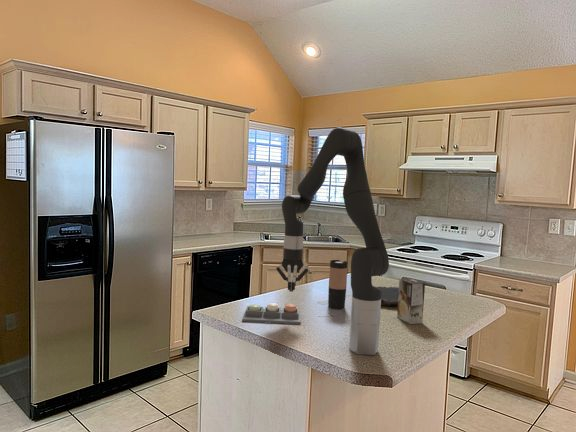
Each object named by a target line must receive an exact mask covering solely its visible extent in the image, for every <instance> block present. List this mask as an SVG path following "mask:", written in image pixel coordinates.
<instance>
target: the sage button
mask: <svg viewBox="0 0 576 432" xmlns="http://www.w3.org/2000/svg"><path fill="white" fill-rule="evenodd" d="M260 307H261V305H260V304H249V311H260Z"/></svg>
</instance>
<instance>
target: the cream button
mask: <svg viewBox="0 0 576 432" xmlns="http://www.w3.org/2000/svg"><path fill="white" fill-rule="evenodd" d="M266 307H267V311H268V312H278V308H279V304H278V303H274V302H271V303H267V304H266Z"/></svg>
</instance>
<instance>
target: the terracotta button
mask: <svg viewBox="0 0 576 432" xmlns="http://www.w3.org/2000/svg"><path fill="white" fill-rule="evenodd" d="M284 308H285V312H288V313H296V309H297V305H295V304H293V303H287V304H285V305H284Z"/></svg>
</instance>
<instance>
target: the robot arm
mask: <svg viewBox="0 0 576 432" xmlns="http://www.w3.org/2000/svg"><path fill="white" fill-rule="evenodd" d="M363 149H364V147H363V142H362V138H361V136H360V135H359V133H357V132H356V131H355V130H351V129H347V128H344V127H336V128H333V129H332V130H331V131H330V132H329V134H328V135H327V136H326V139H325V140H324V142H323V144H322V147H321V148H320V150H319V151H318V154H317V156H316V158H315V160H314V162H313V164H312V165H311V167H310V169H309V171H308V172H307V173H306V175H305V176H304V177H303V178H302V179H301V181H300V182H299V184H298V185H297V192H298V195H292V194H291V195H290V194H289V195H287V196H285V197H284V198H283V200H282V202H281V211H282V216H283V220H284V221H283V222H284V225H285V226H284V238H283V249H282V250H283V251H282V253H283V254H282V261H281V264H280V265H277V266H276V268H275V269H276V271H277V273H278V274H279V275H280V276H281V278H282V279H283V281H286V282H287V290H288V291H289V292H290V293H291V292H294V291H295V290H296V282H300V280H302V279H303V277H305V276H306V274H307V273H308V272H309V268H308V267H307V266H305V265H304V261H303V255H304V254H303V252H304V222H303V221H302V220H299V219H298V217H297V214H298V215H299V214H300V215H301V214H304V213H305V212H307V211H308V209H309V208H310V206H311V203H312V202H313V199H314V196H315V195H316V194H317V193H318V191H319V190H320V189H321V187H322V186H323V184H324V183H325V180H326V178H327V177H326V176H327V170H328V167H329V166H330V165H329V164H331V162H332V161H333V160H334V158H335V157H336V156H341V157H343V158H344V162H345V166H346V171H347V172H346V178H345V182H344V183H343V188H342V197H343V202H344V209H345V211H346V213H347V216H348V217H349V219H350V220H351V221H352V224H354V226H356V228H357V229H358V230H359V232H360V233H361V236H362V238H363V240H364V243H365V247H359V248H356V249H355V250H354V251H353V253H352V255H351V260H350V287H351V291H352V292H351V293H352V295H351V310H350V311H351V312H350V328H349V343H348V345H349V346H348V349H349V350H350V351H351V352H353V353H355V355H364V356H365V355H367V356H368V355H369V356H376V354H377V353H378V352H379V340H380V339H379V338H380V325H381V308H382V305H381V296H382V292H381V290H380V289H379V288H377V287H378V286H374V285H373V281H372V277H378V276H383V275H385V274H387V272H388V270H389V266H390V259H389V254H388V251H387V248H386V245H385V242H384V239H383V237H382V233H381V231H380V227H379V223H378V219H377V215H376V211H375V206H374V201H373V196H372V192H371V188H370V184H369V180H368V174H367V170H366V165H365V159H364V158H365V157H364V150H363ZM283 270H284V271H285V272H286V273H287V276H286V274H285V272H284V271H283ZM300 271H301V272H300ZM299 272H300V273H299ZM297 273H299V275H297Z"/></svg>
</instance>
